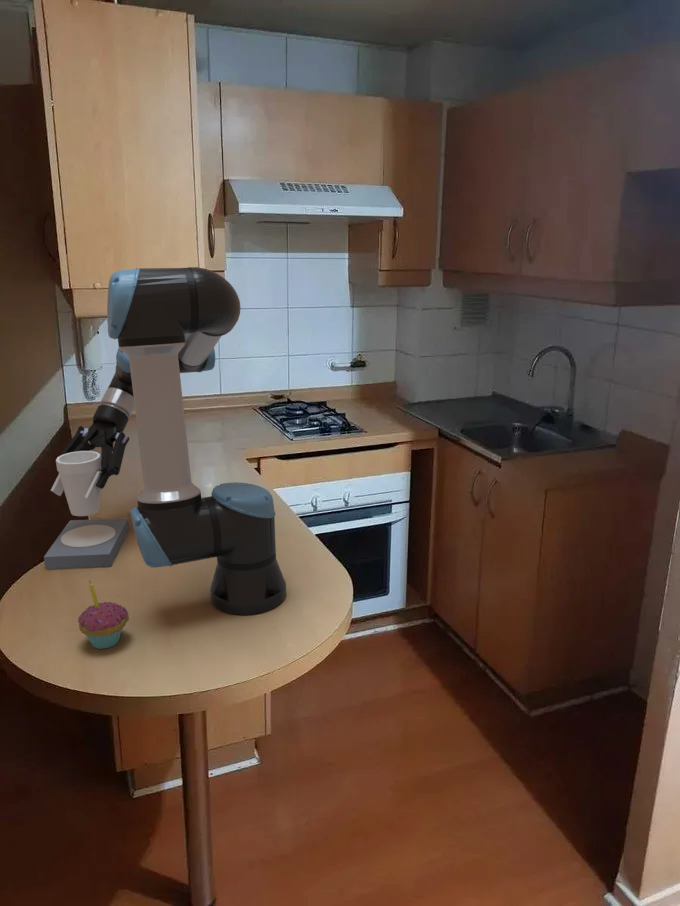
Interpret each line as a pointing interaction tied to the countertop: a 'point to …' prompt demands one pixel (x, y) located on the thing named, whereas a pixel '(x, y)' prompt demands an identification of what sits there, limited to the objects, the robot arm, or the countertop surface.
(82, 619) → the cupcake
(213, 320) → the robot arm
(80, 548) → the pedestal
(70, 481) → the foam cup
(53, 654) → the countertop surface
